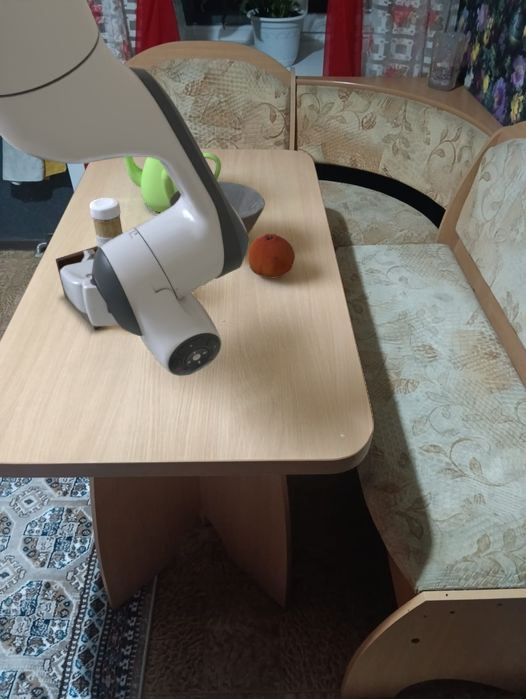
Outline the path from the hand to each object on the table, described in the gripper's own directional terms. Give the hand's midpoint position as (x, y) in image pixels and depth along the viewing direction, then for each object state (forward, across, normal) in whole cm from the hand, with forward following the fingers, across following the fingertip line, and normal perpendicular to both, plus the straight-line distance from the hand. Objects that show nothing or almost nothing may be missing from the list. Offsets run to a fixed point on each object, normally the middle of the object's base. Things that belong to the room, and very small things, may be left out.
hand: (119, 247), depth 84 cm
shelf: (+7, 0, +14) cm, 15 cm away
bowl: (+17, -25, +14) cm, 33 cm away
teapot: (+41, -24, +14) cm, 49 cm away
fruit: (+2, -28, +14) cm, 32 cm away
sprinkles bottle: (+6, 0, +9) cm, 11 cm away
